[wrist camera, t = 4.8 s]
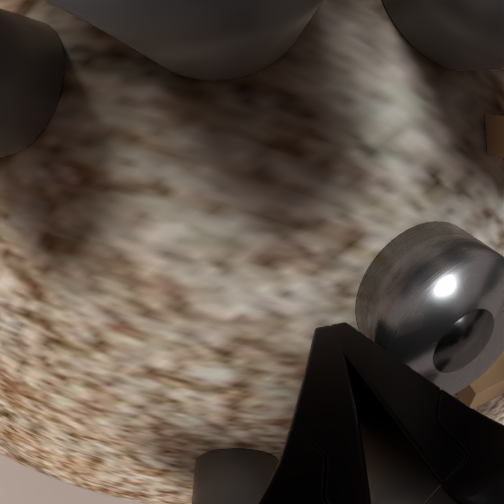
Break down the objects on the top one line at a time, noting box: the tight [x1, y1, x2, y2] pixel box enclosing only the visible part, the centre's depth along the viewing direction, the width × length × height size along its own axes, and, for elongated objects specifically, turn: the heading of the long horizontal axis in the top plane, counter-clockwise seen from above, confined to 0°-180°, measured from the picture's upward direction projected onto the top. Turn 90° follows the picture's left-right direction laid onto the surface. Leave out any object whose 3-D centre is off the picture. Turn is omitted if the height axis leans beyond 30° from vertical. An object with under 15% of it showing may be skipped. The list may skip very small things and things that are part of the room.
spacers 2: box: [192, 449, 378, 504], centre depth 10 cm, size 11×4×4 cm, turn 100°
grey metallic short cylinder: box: [355, 221, 504, 395], centre depth 7 cm, size 5×5×2 cm
